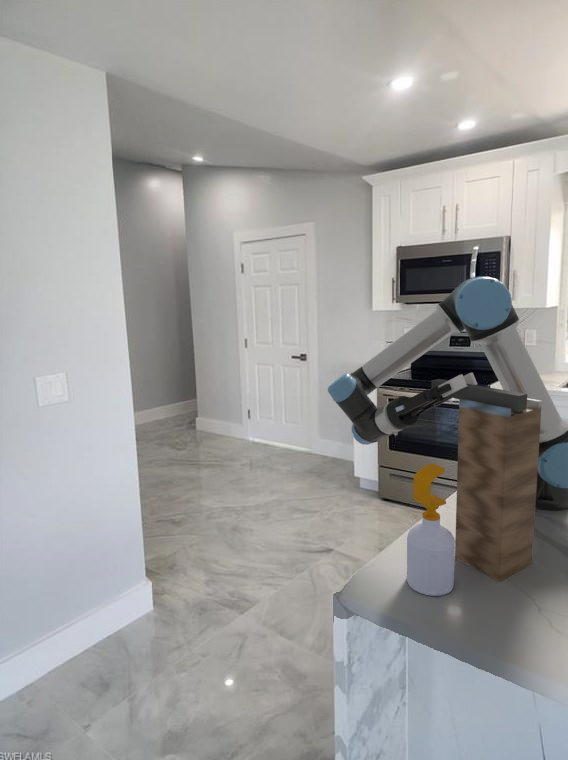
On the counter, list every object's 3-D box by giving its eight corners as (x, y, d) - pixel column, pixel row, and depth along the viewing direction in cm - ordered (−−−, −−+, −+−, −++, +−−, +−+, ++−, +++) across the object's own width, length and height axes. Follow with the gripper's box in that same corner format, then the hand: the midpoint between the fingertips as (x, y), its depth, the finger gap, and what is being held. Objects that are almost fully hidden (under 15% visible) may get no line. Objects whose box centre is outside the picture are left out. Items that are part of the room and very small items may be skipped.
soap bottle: (463, 587, 99) (467, 469, 95) (430, 602, 95) (432, 479, 90) (429, 566, 107) (431, 456, 102) (397, 579, 103) (398, 465, 98)
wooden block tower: (453, 556, 110) (457, 399, 104) (485, 542, 116) (491, 391, 109) (499, 581, 101) (507, 409, 94) (532, 563, 106) (541, 400, 100)
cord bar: (431, 393, 112) (431, 380, 111) (439, 391, 113) (439, 378, 113) (518, 411, 94) (519, 396, 94) (526, 409, 96) (527, 394, 95)
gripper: (425, 423, 127) (499, 390, 108) (379, 435, 119) (450, 401, 99) (414, 396, 129) (485, 359, 109) (368, 405, 120) (436, 367, 101)
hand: (468, 379), depth 104 cm, fingers closed on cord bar, 3 cm apart
